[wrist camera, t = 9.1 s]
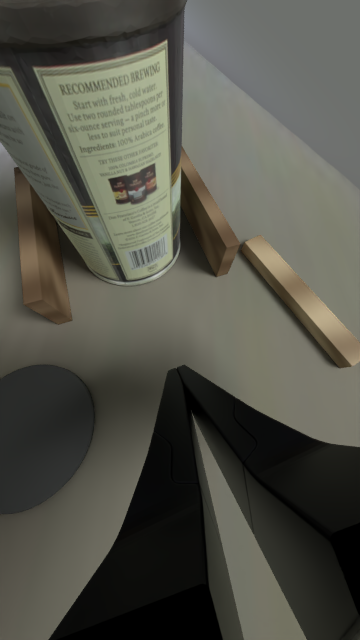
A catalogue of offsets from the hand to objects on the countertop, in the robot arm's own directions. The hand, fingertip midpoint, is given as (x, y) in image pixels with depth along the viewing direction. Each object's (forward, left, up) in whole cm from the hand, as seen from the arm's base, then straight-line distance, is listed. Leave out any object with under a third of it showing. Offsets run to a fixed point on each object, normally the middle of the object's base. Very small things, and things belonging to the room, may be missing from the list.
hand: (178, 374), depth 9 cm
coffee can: (+15, 0, -7) cm, 16 cm away
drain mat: (+1, +11, -6) cm, 13 cm away
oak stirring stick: (+4, -13, -7) cm, 15 cm away
